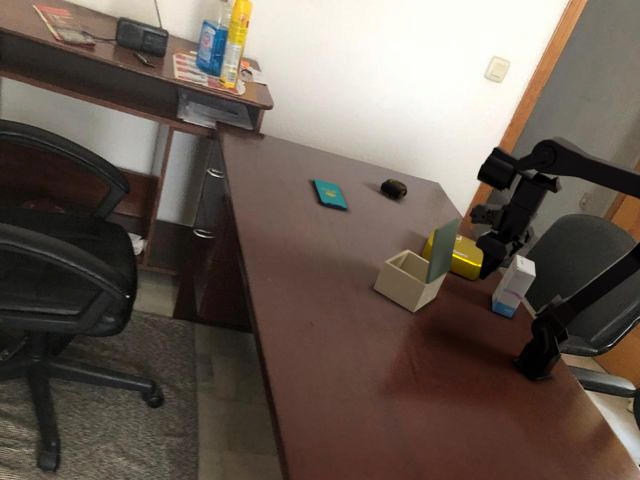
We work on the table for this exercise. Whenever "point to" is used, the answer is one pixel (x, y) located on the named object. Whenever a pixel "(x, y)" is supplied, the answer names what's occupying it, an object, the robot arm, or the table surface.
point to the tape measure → (394, 188)
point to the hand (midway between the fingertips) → (486, 274)
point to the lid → (442, 250)
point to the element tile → (460, 256)
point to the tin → (407, 281)
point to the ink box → (513, 286)
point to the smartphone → (329, 194)
